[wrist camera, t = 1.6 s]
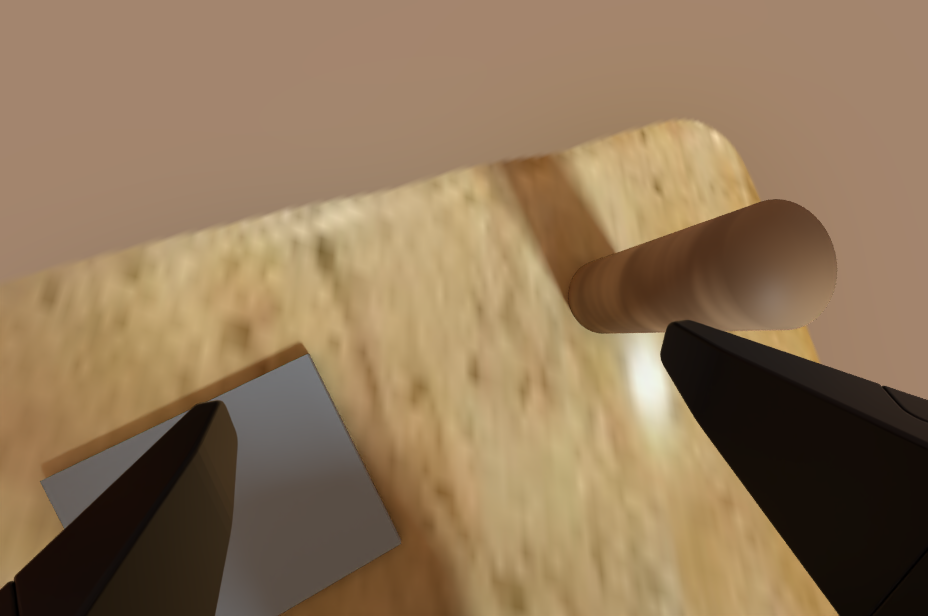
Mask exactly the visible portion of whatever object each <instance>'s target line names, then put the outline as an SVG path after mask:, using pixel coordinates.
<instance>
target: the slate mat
mask: <svg viewBox="0 0 928 616" xmlns="http://www.w3.org/2000/svg"><path fill="white" fill-rule="evenodd" d="M214 400H221V401H223V402H224V404H225V405H226V407H227V410H228V412H229V415H230V417H231V420H232V422H233V425H234V427H235V430H236V433H237V438H238V450H237V465H236V480H235V495H234V510H233V521H232V528H231V535H230V540H229V545H228V551H227V556H226V561H225V566H224V572H223V577H222V582H221V587H220V593H219V598H218V603H217V608H216V614H215V616H278V615H280V614H282V613H283V612H285V611H287V610H289V609H290V608H292V607H294V606H295V605H297V604H299V603H301V602H302V601H304V600H306V599H307V598H309V597H311V596H312V595H314V594H316V593H318V592H319V591H321V590H323V589H324V588H326V587H328V586H330V585H331V584H333V583H335V582H336V581H338V580H340V579H342V578H343V577H345V576H347V575H348V574H350V573H352V572H354V571H355V570H357V569H359V568H360V567H362V566H364V565H366V564H367V563H369V562H371V561H372V560H374V559H376V558H377V557H379V556H381V555H383V554H384V553H386V552H388V551H389V550H391V549H393V548H395V547H396V546H398V545H400V544H401V538H400V536H399V534H398V532H397V530H396V528H395V526H394V524H393V522H392V520H391V518H390V516H389V514H388V512H387V510H386V508H385V506H384V504H383V502H382V500H381V498H380V496H379V494H378V492H377V490H376V488H375V486H374V484H373V482H372V480H371V478H370V476H369V474H368V472H367V470H366V468H365V466H364V464H363V462H362V460H361V458H360V456H359V454H358V451H357V449H356V447H355V445H354V443H353V441H352V439H351V437H350V435H349V433H348V431H347V429H346V427H345V425H344V423H343V421H342V419H341V417H340V415H339V413H338V411H337V409H336V407H335V405H334V403H333V401H332V399H331V397H330V395H329V393H328V391H327V389H326V387H325V385H324V383H323V381H322V379H321V377H320V375H319V373H318V371H317V369H316V367H315V365H314V362H313V360H312V358H311V356H310V354H306V355H304V356H302V357H300V358H298V359H296V360H293V361H291V362H289V363H287V364H285V365H283V366H281V367H279V368H277V369H275V370H272V371H270V372H268V373H266V374H264V375H262V376H260V377H258V378H256V379H254V380H251V381H249V382H247V383H245V384H243V385H241V386H239V387H237V388H235V389H233V390H231V391H228V392H226V393H224V394H222V395H220V396H218V397H216V398H214V399H212V400H210V401H214ZM207 402H208V401H207ZM187 412H188V411H186V412H184V413H182V414H180V415H178V416H176V417H174V418H172V419H170V420H168V421H165V422H163V423H161V424H159V425H157V426H155V427H153V428H151V429H149V430H147V431H144V432H142V433H140V434H138V435H136V436H134V437H132V438H130V439H128V440H126V441H123V442H121V443H119V444H117V445H115V446H113V447H111V448H109V449H107V450H105V451H102V452H100V453H98V454H96V455H94V456H92V457H90V458H88V459H86V460H84V461H81V462H79V463H77V464H75V465H73V466H71V467H69V468H67V469H65V470H63V471H60V472H58V473H56V474H54V475H52V476H50V477H48V478H46V479H44V480H42V481H40V483H41V484H42V486H43V488H44V490H45V492H46V494H47V496H48V498H49V500H50V502H51V504H52V506H53V508H54V510H55V512H56V514H57V516H58V518H59V519H60V521H61V523H62V525H63V527H64V529H65V528H66V527H67V526H68V525H69V524H70V523H71V522H72V521H73V520H74V519H75V518H76V517H78V516H79V515H80V514H81V513H82V512H83V511H84V510H85V509H86V508H87V507H88V506H89V505H90V504H91V503H92V502H93V501H94V500H95V499H96V498H98V497H99V496H100V495H101V494H102V493H103V492H104V491H105V490H106V489H107V488H108V487H109V486H110V485H111V484H112V483H113V482H114V481H115V480H117V479H118V478H119V477H120V476H121V475H122V474H123V473H124V472H125V471H126V470H127V469H128V468H129V467H130V466H131V465H132V464H133V463H134V462H135V461H137V460H138V459H139V458H140V457H141V456H142V455H143V454H144V453H145V452H146V451H147V450H148V449H149V448H150V447H151V446H152V445H153V444H154V443H156V442H157V441H158V440H159V439H160V438H161V437H162V436H163V435H164V434H165V433H166V432H167V431H168V430H169V429H170V428H171V427H172V426H173V425H174V424H176V423H177V422H178V421H179V420H180V419H181V418H182V417H183V416H184V415H185V414H186V413H187Z"/></svg>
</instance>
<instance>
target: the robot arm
mask: <svg viewBox="0 0 928 616" xmlns="http://www.w3.org/2000/svg"><path fill="white" fill-rule="evenodd" d="M660 355H661V361H662V363H663V365H664V367H665V369H666V371H667V372H668V374H669V376H670V377H671V379H672V381H673V382H674V384H675V386H676V387H677V389H678V391H679V393H680V394H681V396H682V398H683V399H684V401H685V403H686V404H687V406H688V408H689V409H690V411H691V413H692V414H693V416H694V418H695V419H696V421H697V422H698V424H699V425H700V426H701V428H702V429H703V431H704V432H705V433H706V435H707V436H708V438H709V439H710V440H711V442H712V443H713V444H714V446H715V447H716V448H717V450H718V451H719V452H720V454H721V455H722V457H723V458H724V459H725V461H726V462H727V463H728V465H729V466H730V467H731V469H732V470H733V472H734V473H735V474H736V476H737V477H738V478H739V480H740V481H741V482H742V484H743V485H744V487H745V488H746V489H747V491H748V492H749V493H750V495H751V496H752V497H753V499H754V500H755V501H756V503H757V504H758V506H759V507H760V508H761V510H762V511H763V512H764V514H765V515H766V516H767V518H768V519H769V521H770V522H771V523H772V525H773V526H774V527H775V529H776V530H777V531H778V533H779V534H780V536H781V537H782V538H783V540H784V541H785V542H786V544H787V545H788V546H789V548H790V549H791V550H792V552H793V553H794V555H795V556H796V557H797V559H798V560H799V561H800V563H801V564H802V565H803V567H804V568H805V570H806V571H807V572H808V574H809V575H810V576H811V578H812V579H813V580H814V582H815V583H816V584H817V586H818V587H819V589H820V590H821V591H822V593H823V594H824V595H825V597H826V598H827V599H828V601H829V602H830V604H831V605H832V606H833V608H834V609H835V610H836V612H837V613H838V614H839V616H928V400H926V399H923V398H920V397H917V396H914V395H911V394H907V393H905V392H902V391H899V390H896V389H893V388H890V387H887V386H881V385H880V384H878V383H875V382H872V381H869V380H866V379H863V378H860V377H857V376H854V375H851V374H848V373H845V372H843V371H840V370H837V369H834V368H831V367H828V366H825V365H822V364H819V363H816V362H813V361H810V360H807V359H804V358H801V357H798V356H795V355H792V354H789V353H787V352H784V351H781V350H778V349H775V348H772V347H769V346H766V345H763V344H760V343H757V342H754V341H751V340H748V339H745V338H742V337H739V336H736V335H733V334H731V333H728V332H725V331H722V330H719V329H716V328H713V327H710V326H707V325H704V324H701V323H698V322H695V321H692V320H687V319H686V320H679V321H674V322H671V323H669V325H668V326H667V328H666V332H665V336H664V340H663V344H662V348H661V353H660ZM237 450H238V438H237V433H236V430H235V427H234V425H233V422H232V420H231V417H230V415H229V412H228V410H227V407H226V405H225V404H224V402H223V401H221V400H214V401H208V402H202V403H198V404H196V405H195V406H194V407H192V408H191V409H190V410H189V411H188V412H187V413H186V414H185V415H184V416H183V417H182V418H181V419H180V420H179V421H178V422H177V423H176V424H174V425H173V426H172V427H171V428H170V429H169V430H168V431H167V432H166V433H165V434H164V435H163V436H162V437H161V438H160V439H159V440H158V441H157V442H156V443H154V444H153V445H152V446H151V447H150V448H149V449H148V450H147V451H146V452H145V453H144V454H143V455H142V456H141V457H140V458H139V459H138V460H137V461H135V462H134V463H133V464H132V465H131V466H130V467H129V468H128V469H127V470H126V471H125V472H124V473H123V474H122V475H121V476H120V477H119V478H118V479H117V480H115V481H114V482H113V483H112V484H111V485H110V486H109V487H108V488H107V489H106V490H105V491H104V492H103V493H102V494H101V495H100V496H99V497H98V498H96V499H95V500H94V501H93V502H92V503H91V504H90V505H89V506H88V507H87V508H86V509H85V510H84V511H83V512H82V513H81V514H80V515H79V516H78V517H76V518H75V519H74V520H73V521H72V522H71V523H70V524H69V525H68V526H67V527H66V528H65V529H64V530H63V531H62V532H61V533H60V534H59V535H57V536H56V537H55V538H54V539H53V540H52V541H51V542H50V543H49V544H48V545H47V546H46V547H45V548H44V549H43V550H42V551H41V552H40V553H39V554H37V555H36V556H35V557H34V558H33V559H32V560H31V561H30V562H29V563H28V564H27V565H26V566H25V567H24V568H23V569H22V570H21V571H20V572H18V573H17V574H16V575H15V577H14V581H10V582H8V583H7V584H6V585H5V586H3V587H2V588H1V589H0V616H215V614H216V608H217V603H218V598H219V593H220V587H221V582H222V577H223V572H224V566H225V561H226V556H227V551H228V545H229V540H230V535H231V528H232V521H233V510H234V495H235V480H236V465H237Z"/></svg>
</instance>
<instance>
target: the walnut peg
mask: <svg viewBox="0 0 928 616" xmlns="http://www.w3.org/2000/svg"><path fill="white" fill-rule="evenodd" d="M836 279H837V262H836V255H835V251H834V247H833V244H832V241H831V239H830V237H829V235H828V233H827V231H826V229H825V228H824V226H823V225H822V224H821V222H820V221H819V220H818V219H817V218H816V217H815V216H814V215H813V214H812V213H811V212H810V211H808V210H806V209H805V208H804V207H802V206H800V205H798V204H796V203H793V202H791V201H786V200H778V199H774V200H766V201H762V202H759V203H756V204H753V205H750V206H748V207H745V208H742V209H739V210H736V211H733V212H731V213H728V214H725V215H722V216H719V217H717V218H714V219H711V220H708V221H705V222H702V223H700V224H697V225H694V226H691V227H688V228H686V229H683V230H680V231H677V232H674V233H671V234H669V235H666V236H663V237H660V238H657V239H655V240H652V241H649V242H646V243H643V244H640V245H638V246H635V247H632V248H629V249H626V250H624V251H621V252H618V253H615V254H612V255H609V256H607V257H604V258H601V259H598V260H595V261H593V262H590V263H588V264H586V265H584V266H583V267H581V268H580V269H579V270H578V271H577V272H576V274H575V275H574V277H573V278H572V280H571V283H570V287H569V293H568V299H569V305H570V308H571V311H572V313H573V315H574V317H575V318H576V320H577V321H578V322H579V323H580V324H581V325H582V326H583V327H585V328H586V329H588V330H590V331H592V332H596V333H656V332H666V328H667V326H668V325H669V323H671V322H674V321H679V320H686V319H687V320H692V321H695V322H698V323H701V324H704V325H707V326H710V327H713V328H716V329H719V330H722V331H759V330H792V329H797V328H800V327H803V326H805V325H807V324H809V323H811V322H812V321H814V320H815V319H816V318H817V317H818V316H819V315H821V313H822V312H823V311H824V310H825V308H826V307H827V305H828V303H829V302H830V300H831V297H832V295H833V292H834V289H835V285H836Z"/></svg>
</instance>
